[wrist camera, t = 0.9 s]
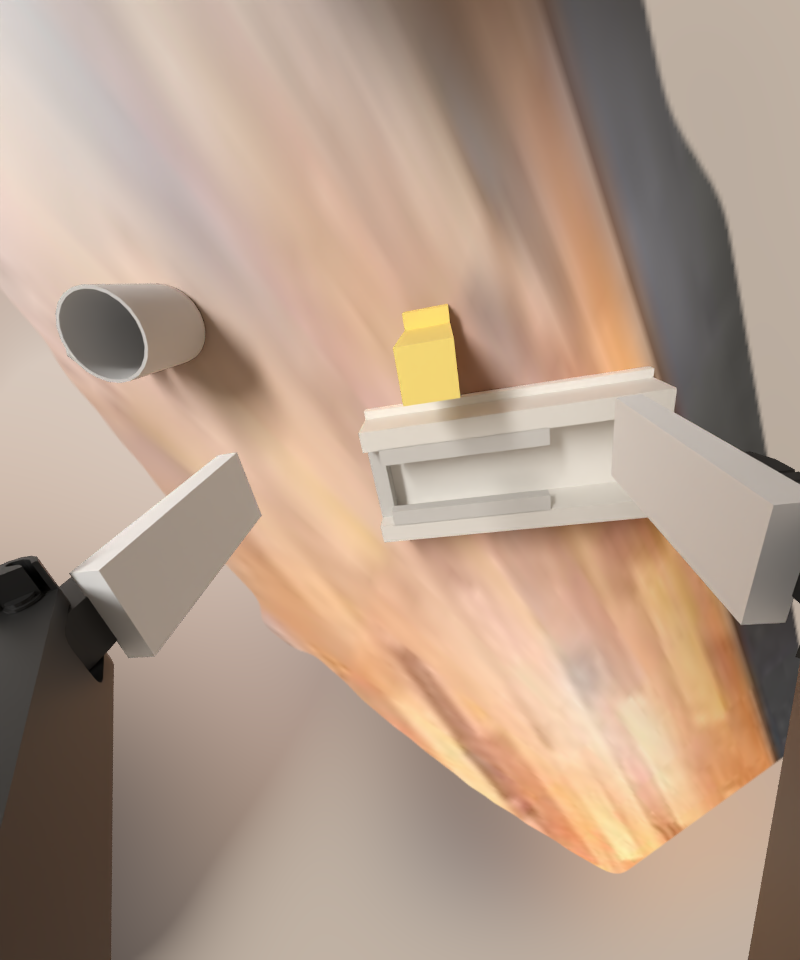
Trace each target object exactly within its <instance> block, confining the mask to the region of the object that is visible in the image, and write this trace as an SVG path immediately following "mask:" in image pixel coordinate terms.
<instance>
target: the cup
mask: <svg viewBox="0 0 800 960" xmlns="http://www.w3.org/2000/svg"><path fill="white" fill-rule="evenodd" d="M56 326H57V329H58V332H59V336H60V339H61V341H62V343H63V344H64V346H65V348H66V352H67V356H68V357H70V358H71V359H72V360H74V361H76V363H78V364H79V365H80V366H81V367H82V368H83V369H84V370H86V371H87V372H89V373H90V374H92V375H94V376H95V377H97V378H99V379H102V380H105V381H108V382H116V383H122V382H127V381H131V380H134V379H137V378H140V377H143V376H146V375H149V374H153V373H156V372H159V371H162V370H165V369H168V368H171V367H174V366H177V365H180V364H183V363H186V362H188V361H190V360H192V359H193V358H195V357H196V356H197V355H198V354H199V353H200V352H201V350H202V348H203V345H204V343H205V327H204V322H203V319H202V317H201V314H200V312H199V310H198V309H197V307H196V306H195V304H194V303H193V302H192V301H191V300H190V299H189V297H188V296H187V295H186V294H184V293H183V292H181V291H180V290H178V289H177V288H174V287H171V286H169V285H164V284H84V285H79V286H75V287H71V288H70V289H69V290H67V291H66V292H65V293H63V295H62V296H61V298H60V300H59V301H58V304H57V309H56Z"/></svg>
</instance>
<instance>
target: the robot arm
mask: <svg viewBox="0 0 800 960" xmlns="http://www.w3.org/2000/svg"><path fill="white" fill-rule="evenodd" d="M611 476H612V477H613V478H614V479H615V480H616V481H617V483H618V484H619V485H620V486H621V487H622V488H623V490H624V491H625V492H626V493H627V494H628V495H629V496H630V498H631V499H632V500H633V501H634V502H635V503H636V504H637V506H638V507H639V508H640V509H641V510H642V511H643V513H644V514H645V515H646V516H647V517H648V518H649V519H650V521H651V522H652V523H653V524H654V525H655V526H656V528H657V529H658V530H659V531H660V532H661V533H662V534H663V536H664V537H665V538H666V539H667V540H668V541H669V543H670V544H671V545H672V546H673V547H674V548H675V549H676V551H677V552H678V553H679V554H680V555H681V556H682V557H683V559H684V560H685V561H686V562H687V563H688V564H689V566H690V567H691V568H692V569H693V570H694V571H695V572H696V574H697V575H698V576H699V577H700V578H701V579H702V581H703V582H704V583H705V584H706V585H707V586H708V587H709V589H710V590H711V591H712V592H713V593H714V594H715V595H716V597H717V598H718V599H719V600H720V601H721V602H722V604H723V605H724V606H725V607H726V608H727V609H728V610H729V612H730V613H731V614H732V615H733V616H734V617H735V619H736V620H737V621H738V622H739V623H740V624H741V625H749V624H768V623H785V622H786V619H787V616H788V613H789V610H790V608H791V605H792V602H793V599H796V600H797V601H798V602H799V603H800V472H795V470H794V469H793V468H791V467H789V466H787V465H785V464H783V463H781V462H780V461H778V460H776V459H773V458H770V457H766V456H763V455H759V454H756V453H753V452H742V451H741V450H739V449H737V448H735V447H734V446H732V445H730V444H728V443H727V442H725V441H723V440H721V439H720V438H718V437H716V436H714V435H713V434H711V433H709V432H707V431H706V430H704V429H702V428H700V427H699V426H697V425H695V424H693V423H692V422H690V421H688V420H686V419H685V418H683V417H681V416H679V415H678V414H676V413H674V412H673V411H671V410H669V409H667V408H666V407H664V406H662V405H660V404H659V403H657V402H655V401H653V400H652V399H650V398H648V397H646V396H645V395H643V394H638V395H631V396H624V397H617V398H616V401H615V418H614V435H613V452H612V469H611ZM261 516H262V515H261V512H260V510H259V507H258V505H257V502H256V500H255V497H254V495H253V492H252V490H251V487H250V485H249V482H248V479H247V477H246V474H245V472H244V469H243V467H242V464H241V462H240V459H239V457H238V454H237V453H230V454H223V455H218V456H216V457H215V458H214V459H213V460H211V461H210V462H209V463H208V464H206V465H205V466H204V467H203V468H201V469H200V470H199V471H198V472H196V473H195V474H194V475H193V476H191V477H190V478H189V479H187V480H186V481H185V482H184V483H182V484H181V485H180V486H179V487H177V488H176V489H175V490H174V491H172V492H171V493H170V494H169V495H167V496H166V497H165V498H164V499H162V500H161V501H160V502H159V503H157V504H156V505H155V506H153V507H152V508H151V509H150V510H148V511H147V512H146V513H145V514H143V515H142V516H141V517H140V518H139V519H137V520H136V521H135V522H134V523H132V524H131V525H130V526H128V527H127V528H126V529H125V530H123V531H122V532H121V533H119V534H118V535H117V536H116V537H114V538H113V539H112V540H111V541H109V542H108V543H107V544H106V545H104V546H103V547H102V548H101V549H99V550H98V551H97V552H96V553H94V554H93V555H92V556H90V557H89V558H88V559H87V560H85V561H84V562H83V563H82V564H81V565H79V566H78V567H77V568H75V569H74V570H73V571H72V572H71V573H69V574H70V575H71V576H72V577H71V578H70V579H68V580H67V581H66V582H65V583H63V584H62V585H61V586H60V587H59V586H58V585H57V584H56V582H55V581H54V580H53V578H52V577H51V575H50V574H49V573H48V571H47V570H46V569H45V567H44V566H43V564H42V563H41V562H40V560H39V559H38V558H37V557H35V556H28V557H21V558H18V559H15V560H12V561H9V562H6V563H4V564H2V565H0V960H111V897H112V895H111V894H112V791H113V790H112V788H113V787H112V786H113V685H114V684H113V683H114V681H113V679H114V664H113V661H112V659H111V658H110V656H109V655H108V654H107V651H108V650H109V649H110V648H111V647H112V646H113V644H114V643H115V642H116V641H117V642H118V644H119V645H120V646H121V648H122V649H123V651H124V652H125V654H126V655H127V656H128V658H136V657H154V656H156V654H157V653H158V652H159V650H160V649H161V648H162V647H163V645H164V644H165V643H166V641H167V640H168V639H169V637H170V636H171V635H172V633H173V632H174V631H175V629H176V628H177V627H178V625H179V624H180V623H181V621H182V620H183V619H184V617H185V616H186V615H187V613H188V612H189V611H190V609H191V608H192V607H193V606H194V604H195V602H197V600H198V599H199V598H200V596H201V595H202V593H203V592H204V591H205V590H206V588H207V587H208V586H209V584H210V583H211V582H212V580H213V579H214V578H215V576H216V575H217V574H218V572H219V571H220V570H221V568H222V567H223V566H224V564H225V563H226V562H227V561H228V559H229V558H230V557H231V555H232V554H233V553H234V551H235V550H236V549H237V547H238V546H239V545H240V543H241V542H242V541H243V539H244V538H245V537H246V535H247V534H248V533H249V531H250V530H251V529H252V527H253V526H254V525H255V523H256V522H257V521H258V519H259V518H260V517H261ZM796 657H797V658H800V646H799V649H798V651H797V654H796ZM748 960H800V666H799V671H798V677H797V683H796V689H795V694H794V700H793V706H792V711H791V717H790V723H789V728H788V734H787V740H786V746H785V751H784V757H783V763H782V768H781V775H780V780H779V785H778V791H777V797H776V803H775V809H774V814H773V820H772V825H771V831H770V837H769V843H768V848H767V854H766V859H765V866H764V871H763V877H762V882H761V888H760V894H759V899H758V905H757V912H756V917H755V922H754V928H753V934H752V939H751V945H750V951H749V956H748Z"/></svg>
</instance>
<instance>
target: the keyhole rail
mask: <svg viewBox="0 0 800 960" xmlns="http://www.w3.org/2000/svg"><path fill="white" fill-rule="evenodd" d="M653 376H654V368H652V367H650V366H647V367H640V368H634V369H627V370H621V371H614V372H607V373H601V374H594V375H588V376H581V377H574V378H568V379H561V380H555V381H548V382H542V383H535V384H528V385H522V386H515V387H509V388H502V389H495V390H489V391H482V392H476V393H469V394H462V395H460V398H456V399H450V400H443V401H437V402H430V403H423V404H417V405H410V406H403V404H397V405H390V406H383V407H377V408H370V409H365V411H364V415H365V419H366V420H365V422H364V424H363V426H362V427H361V429H360V431H359V433H358V434H359V438H360V442H361V447H362V451H363V453H367V452H368V456H369V460H370V464H371V469H372V473H373V477H374V481H375V486H376V490H377V494H378V499H379V503H380V507H381V511H382V516H383V519H382V523H381V530H382V535H383V539H384V542H394V541H404V540H415V539H425V538H436V537H447V536H457V535H468V534H478V533H489V532H499V531H510V530H521V529H531V528H542V527H552V526H563V525H573V524H584V523H595V522H605V521H616V520H626V519H637V518H648V517H647V516H646V515H645V514H644V513H643V511H642V510H641V509H640V508H639V507H638V506H637V504H636V503H635V502H634V501H633V500H632V499H631V498H630V496H629V495H628V494H627V493H626V492H625V491H624V490H623V488H622V487H621V486H620V485H619V484H618V483H617V481H616V480H615V479H614V478H613V477H612V476H611V469H612V452H613V435H614V418H615V401H616V398H617V397H624V396H631V395H638V394H643V395H645V396H646V397H648V398H650V399H652V400H653V401H655V402H657V403H659V404H660V405H662V406H664V407H666V408H667V409H669V410H671V411H673V412H674V407H675V399H676V392H677V388H676V387H673V386H671V385H669V384H667V383H665V382H663V381H660V380H658V379H656V378H654V377H653Z"/></svg>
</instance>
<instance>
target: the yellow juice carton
mask: <svg viewBox="0 0 800 960" xmlns="http://www.w3.org/2000/svg"><path fill="white" fill-rule="evenodd" d="M402 316H403V323H404V329H405V331H404V333H403V334H402V336H401V337H400V338H399V340H398V341H397V343H396V344H395V346H394V347H393V351H394V357H395V363H396V368H397V374H398V379H399V385H400V390H401V396H402V402H403V406H410V405H417V404H423V403H430V402H437V401H443V400H450V399H456V398H460V390H459V381H458V372H457V363H456V355H455V346H454V337H453V333H452V329H451V325H450V318H449V310H448V304H444V305H439V306H433V307H428V308H423V309H418V310H412V311H407V312H403V313H402Z"/></svg>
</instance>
